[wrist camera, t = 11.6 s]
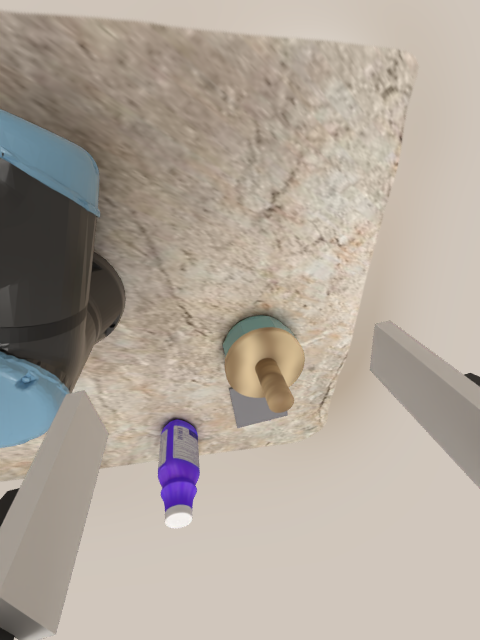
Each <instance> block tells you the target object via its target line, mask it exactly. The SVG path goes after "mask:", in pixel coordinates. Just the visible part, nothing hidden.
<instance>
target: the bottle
mask: <svg viewBox="0 0 480 640" xmlns="http://www.w3.org/2000/svg"><path fill="white" fill-rule="evenodd" d="M199 473H200V472H199V453H198V435H197V431H196V429H195V428H194V427H193V426H192V425H191V424H189V423H187V422H185V421H182V420H177V419H176V420H173V421H171V422H169V423H168V424H167V425H166V426H165V427H164V428H163V430H162V433H161V440H160V452H159V464H158V479H159V481H160V484H161V486H162V490H161V497H162V499H163V501H164V505H165V524H166V525H167V526H168V527H170V528H182V527H185V526H187V525H188V524H190V522H191V521H192V504H193V499H194V497H195V494H196V492H197V488H196V486H195V485H196V483H197V481H198V478H199Z"/></svg>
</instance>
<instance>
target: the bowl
mask: <svg viewBox="0 0 480 640" xmlns="http://www.w3.org/2000/svg"><path fill="white" fill-rule="evenodd" d="M265 327H274V328H280V329H283V330H285V331H287V332H289V333H291V334H292V335H293V333H292V332H291V330H290V329H289V328H287V327H286V326H284V325H283V324H282V323H281V322H280V321H279V320H277V319H275V318H273V317H270V316H264V315H257V316H252V317H248V318H246V319H243V320H242V321H240V322H238V323H237V324H236V325H235V326H233V327H232V329H231V330H230V331H229V332H228V334H227V336H226V338H225V341H224V343H223V349H224V354H225V358H226V355H227V353H228V351H229V349H230V347H231V346H232V345H233V344H234V342H235V341H236V340H238V339H239V338H240V337H241V336H243V335H244V334H246V333H248V332H250V331H253V330H255V329H259V328H265ZM293 336H294V335H293ZM294 337H295V336H294Z"/></svg>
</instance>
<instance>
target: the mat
mask: <svg viewBox="0 0 480 640" xmlns="http://www.w3.org/2000/svg"><path fill="white" fill-rule="evenodd" d="M229 391H230V395H231V400H232V405H233V409H234V414H235V419H236V423H237V428H240V427H244V426H248V425H252V424H256V423H260V422H264V421H267V420H271V419H275V418H279V417H283V416H287V411H285V412H281V413H275V412H272V411H271V410H270V409H269V406H268V404H267V401H266V398H265V397H264V398H253V397H247V396H244V395H242V394H240V393H238V392H237V391H235V390H234V389H233V388H229Z"/></svg>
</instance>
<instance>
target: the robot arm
mask: <svg viewBox="0 0 480 640" xmlns="http://www.w3.org/2000/svg"><path fill="white" fill-rule="evenodd" d="M98 197H99V170H98V167H97V164H96V162H95V161H94V159H93V158H92V156H91V155H90V154H89V153H88V152H87V151H86V150H84V149H83V148H82V147H80V146H78V145H76V144H75V143H73V142H71V141H69V140H67V139H65V138H63V137H60V136H58V135H56V134H54V133H52V132H50V131H48V130H46V129H44V128H41V127H39V126H37V125H35V124H33V123H31V122H28V121H26V120H24V119H22V118H20V117H17V116H15V115H13V114H11V113H8V112H6V111H4V110H2V109H0V448H4V447H10V446H15V445H20V444H23V443H25V442H28V441H29V440H31V439H34V438H37V437H39V436H41V435H43V434H44V433H45V432H47V431H48V432H47V434H46V436H45V438H44V440H43V442H42V444H41V446H40V448H39V450H38V452H37V454H36V456H35V458H34V460H33V462H32V464H31V466H30V468H29V470H28V472H27V474H26V476H25V478H24V480H23V483H22V485H21V487H20V488H18V489H14V490H10V491H7V493H6V494H5V495H4V496H3V497H2V498H1V499H0V640H14V637H15V638H17V639H18V640H40V639H44V638H47V637H50V636H54V635H56V632H57V628H58V624H59V620H60V616H61V613H62V609H63V605H64V602H65V598H66V594H67V590H68V586H69V582H70V579H71V575H72V571H73V567H74V564H75V560H76V556H77V552H78V548H79V545H80V541H81V537H82V533H83V529H84V526H85V522H86V518H87V514H88V510H89V507H90V503H91V499H92V495H93V491H94V488H95V484H96V480H97V476H98V473H99V469H100V465H101V461H102V457H103V454H104V450H105V446H106V442H107V438H108V435H109V433H108V431H107V429H106V427H105V426H104V424H103V422H102V420H101V418H100V417H99V415H98V413H97V411H96V409H95V408H94V406H93V404H92V402H91V400H90V399H89V397H88V395H87V393H86V392H85V390H83V391H79V392H75V393H72V391H73V389H74V387H75V384H76V382H77V380H78V378H79V376H80V374H81V372H82V369H83V367H84V365H85V363H86V361H87V359H88V357H89V355H90V352H91V350H92V348H93V346H94V345H95V344H96V343H98V342H99V341H101V340H102V339H104V338H105V337H107V336H108V335H109V334H110V333H111V332H112V331H113V330H114V329H115V327H116V326H117V325H118V323H119V321H120V319H121V316H122V314H123V311H124V307H125V291H124V287H123V284H122V282H121V280H120V278H119V276H118V274H117V273H116V271H115V270H114V269H113V268H112V266H111V265H110V264H109V263H108V262H107V261H106V260H104V259H103V258H102V257H101V256H99V255H98V254H96V253H95V252H93V251H94V241H95V231H96V221H97V217H100V211H99V209H98ZM370 371H371V372H372V373H373V374H374V375H375V376H376V377H377V378H378V379H379V380H380V381H381V382H382V384H383V385H384V386H385V387H386V388H387V389H388V390H389V391H390V392H391V393H392V394H393V395H394V397H395V398H396V399H397V400H398V401H399V402H400V403H401V404H402V405H403V406H404V407H405V408H406V409H407V411H408V412H409V413H410V414H411V415H412V416H413V417H414V418H415V419H416V420H417V421H418V423H419V424H420V425H421V426H422V427H423V428H424V429H425V430H426V431H427V432H428V433H429V434H430V435H431V437H433V439H434V440H435V441H436V442H437V443H438V444H439V445H440V446H441V447H442V448H443V449H444V450H445V452H446V453H447V454H448V455H449V456H450V457H451V458H452V459H453V460H454V461H455V462H456V463H457V465H458V466H459V467H460V468H461V469H462V470H463V471H464V472H465V473H466V474H467V475H468V476H469V478H470V479H471V480H472V481H473V482H474V483H475V484H476V485H477V486H478V487H479V488H480V377H479V376H477V375H474V374H472V373H468V374H465V375H463V374H462V373H460V372H459V371H458V370H456V369H455V368H454V367H452V366H451V365H450V364H448V363H447V362H445V361H444V360H442V358H440V357H439V356H437V355H436V354H435V353H433V352H432V351H431V350H429V349H428V348H427V347H425V346H424V345H423V344H421V343H420V342H419V341H417V340H416V339H414V338H413V337H412V336H410V335H409V334H408V333H406V332H405V331H404V330H402V329H401V328H400V327H398V326H397V325H396V324H394V323H393V322H391V321H386V322H381V323H377V324H375V327H374V336H373V346H372V355H371V363H370Z"/></svg>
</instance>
